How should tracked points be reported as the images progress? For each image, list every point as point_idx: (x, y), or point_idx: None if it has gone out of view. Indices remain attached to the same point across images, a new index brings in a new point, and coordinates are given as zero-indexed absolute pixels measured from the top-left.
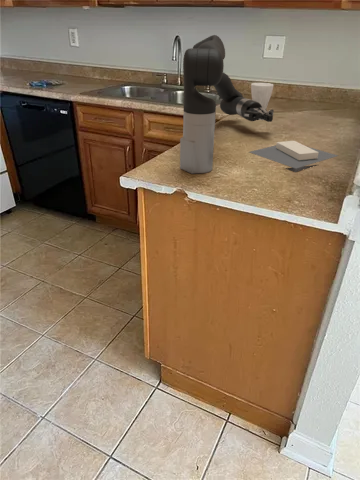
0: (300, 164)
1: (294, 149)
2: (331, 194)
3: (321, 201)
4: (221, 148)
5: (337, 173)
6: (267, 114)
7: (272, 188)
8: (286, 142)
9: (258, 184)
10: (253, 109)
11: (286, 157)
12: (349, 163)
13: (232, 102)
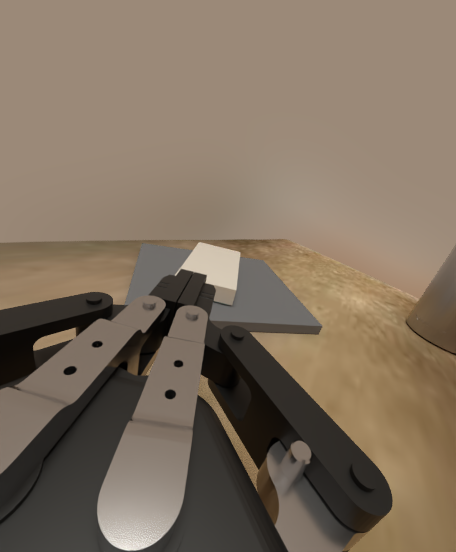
0: (244, 260)
1: (231, 260)
2: (258, 242)
3: (276, 244)
4: (415, 426)
5: None
6: (187, 288)
7: (314, 265)
8: (211, 278)
9: (328, 274)
10: (177, 520)
11: (247, 277)
12: (147, 241)
13: None
